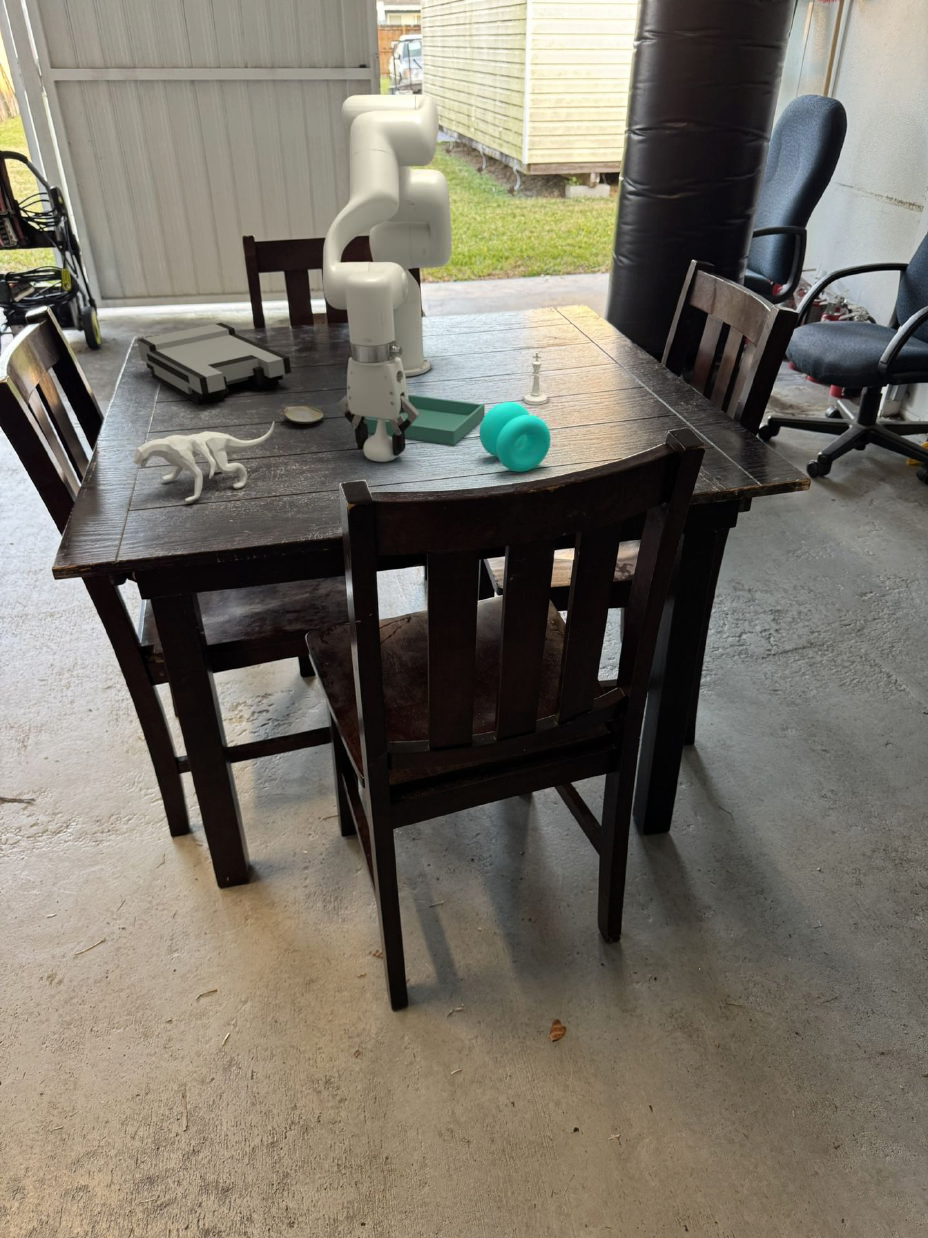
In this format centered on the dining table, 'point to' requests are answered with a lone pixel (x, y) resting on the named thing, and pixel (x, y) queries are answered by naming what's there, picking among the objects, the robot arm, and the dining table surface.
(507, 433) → the turquoise yo-yo
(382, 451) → the garlic bulb
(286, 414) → the seashell
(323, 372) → the dining table surface
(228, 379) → the game console
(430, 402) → the tray
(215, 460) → the white animal figurine
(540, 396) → the chess piece
